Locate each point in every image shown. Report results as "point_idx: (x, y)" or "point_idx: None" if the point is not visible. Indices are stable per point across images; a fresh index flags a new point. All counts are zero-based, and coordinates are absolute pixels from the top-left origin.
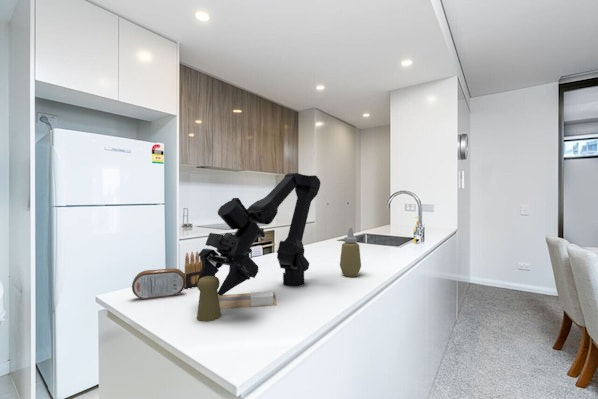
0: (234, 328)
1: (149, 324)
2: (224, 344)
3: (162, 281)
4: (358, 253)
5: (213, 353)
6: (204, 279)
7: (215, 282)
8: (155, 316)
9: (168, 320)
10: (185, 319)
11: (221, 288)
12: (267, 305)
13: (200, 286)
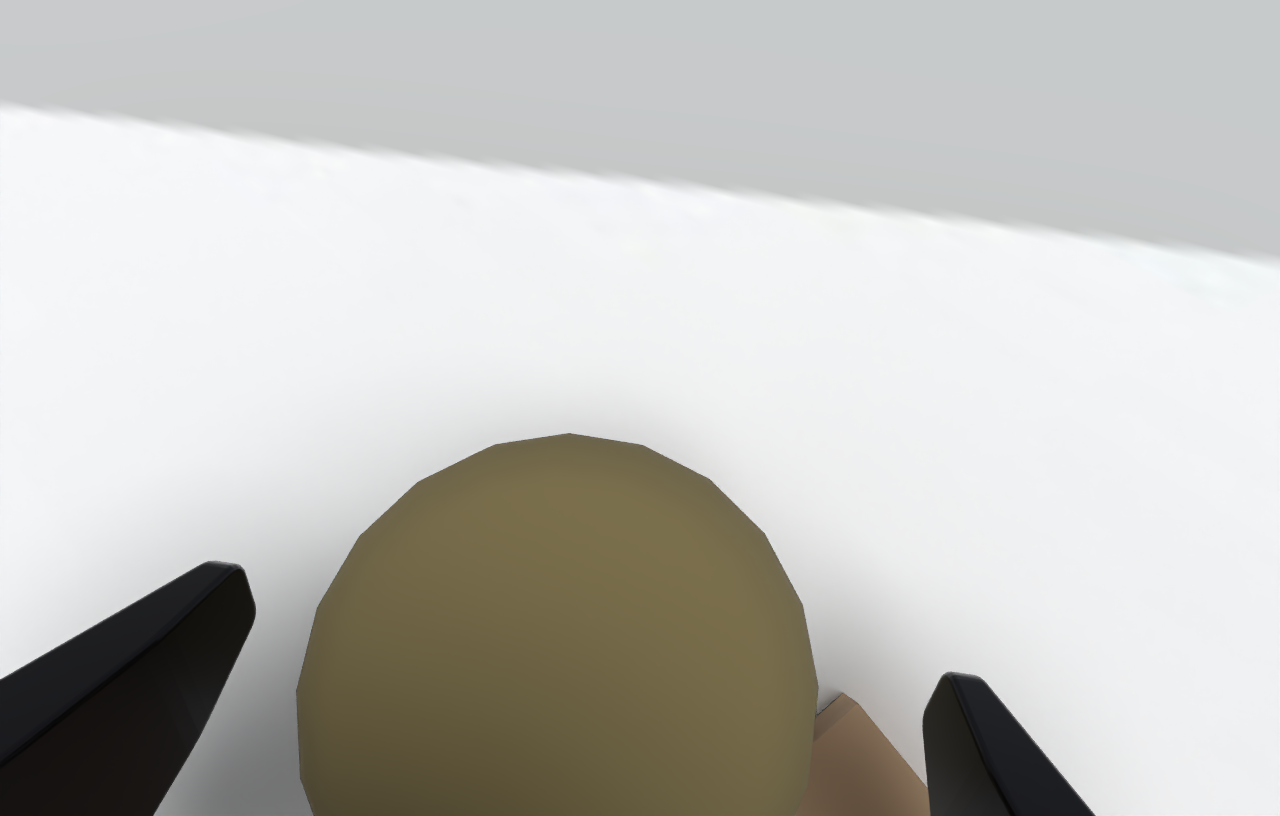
0: (267, 631)
1: (1068, 276)
2: (167, 365)
3: None
4: None
5: (162, 234)
6: (511, 526)
7: (301, 686)
8: (1216, 413)
9: (1003, 420)
10: (876, 524)
11: (113, 617)
12: None
13: (556, 435)
